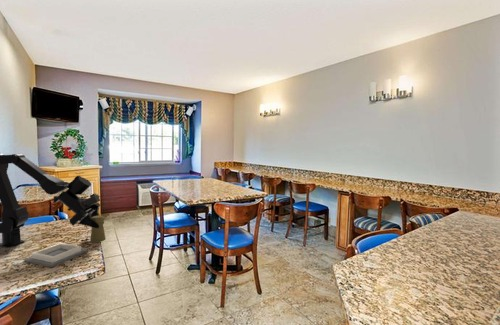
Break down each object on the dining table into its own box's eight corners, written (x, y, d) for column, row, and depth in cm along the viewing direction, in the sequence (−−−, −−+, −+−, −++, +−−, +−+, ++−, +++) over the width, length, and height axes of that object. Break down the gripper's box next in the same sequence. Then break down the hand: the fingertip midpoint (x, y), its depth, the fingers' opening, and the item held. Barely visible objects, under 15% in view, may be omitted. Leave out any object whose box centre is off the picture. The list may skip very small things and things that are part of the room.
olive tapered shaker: (98, 243, 112) (97, 218, 112) (86, 241, 114) (86, 217, 113) (108, 238, 118) (108, 214, 118) (97, 237, 120) (96, 213, 119)
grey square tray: (24, 261, 94) (24, 254, 94) (62, 246, 108) (62, 240, 108) (51, 267, 90) (51, 260, 90) (87, 251, 103) (87, 245, 103)
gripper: (76, 193, 105) (106, 218, 107) (95, 185, 123) (120, 207, 126) (55, 212, 104) (86, 238, 106) (78, 202, 122) (103, 224, 125)
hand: (101, 225), depth 116 cm, fingers closed on olive tapered shaker, 5 cm apart
